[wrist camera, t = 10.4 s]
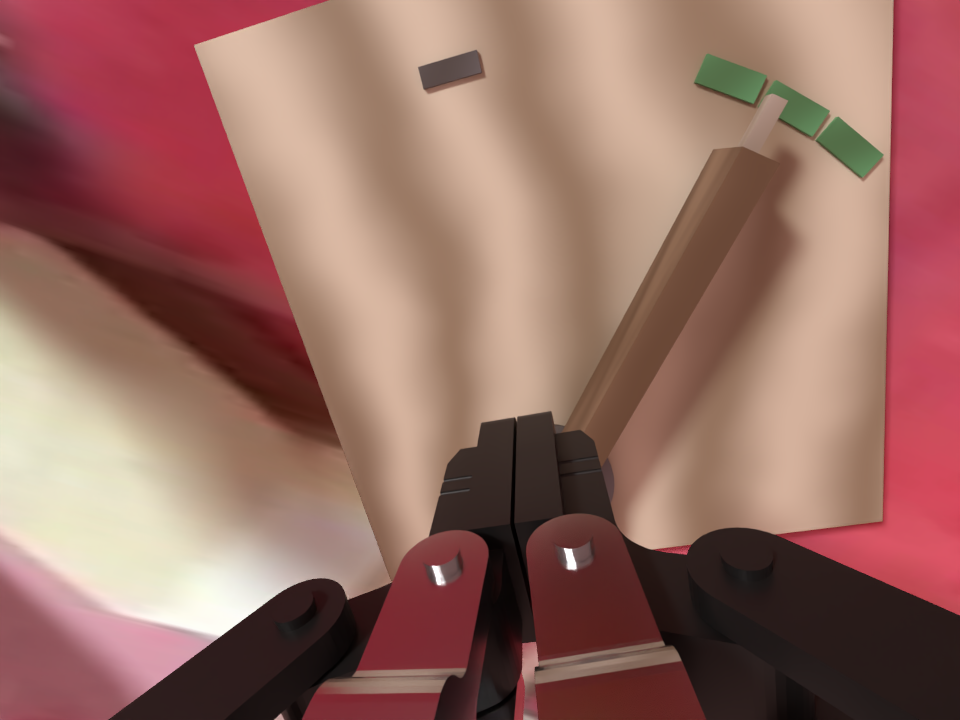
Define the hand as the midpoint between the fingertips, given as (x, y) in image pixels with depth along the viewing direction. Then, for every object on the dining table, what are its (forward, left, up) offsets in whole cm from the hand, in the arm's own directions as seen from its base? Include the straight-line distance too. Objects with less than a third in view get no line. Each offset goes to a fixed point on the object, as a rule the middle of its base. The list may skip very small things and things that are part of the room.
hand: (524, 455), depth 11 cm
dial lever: (+4, -3, -13) cm, 14 cm away
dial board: (+2, -1, -15) cm, 15 cm away
